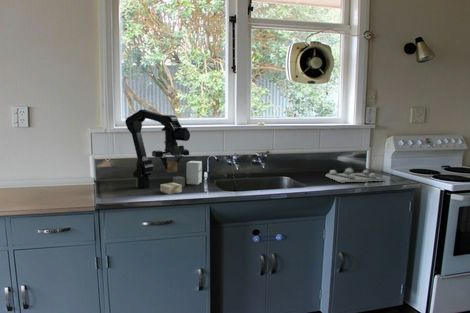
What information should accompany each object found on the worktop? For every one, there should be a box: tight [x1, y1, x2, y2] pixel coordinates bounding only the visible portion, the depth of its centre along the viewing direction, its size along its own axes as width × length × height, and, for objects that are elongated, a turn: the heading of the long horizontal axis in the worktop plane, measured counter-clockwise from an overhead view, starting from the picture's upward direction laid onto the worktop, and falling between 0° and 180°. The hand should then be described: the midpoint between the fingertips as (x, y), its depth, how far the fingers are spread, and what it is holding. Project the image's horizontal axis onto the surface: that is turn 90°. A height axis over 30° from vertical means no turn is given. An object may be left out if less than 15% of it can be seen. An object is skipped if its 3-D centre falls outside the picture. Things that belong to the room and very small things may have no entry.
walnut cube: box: [164, 160, 178, 173], centre depth 210 cm, size 5×5×5 cm
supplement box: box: [186, 160, 203, 186], centre depth 233 cm, size 7×7×13 cm
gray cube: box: [172, 175, 186, 188], centre depth 226 cm, size 5×5×5 cm
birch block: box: [159, 182, 183, 195], centre depth 212 cm, size 8×8×4 cm
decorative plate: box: [325, 167, 386, 184], centre depth 251 cm, size 30×22×7 cm
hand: (170, 169), depth 211 cm, fingers closed on walnut cube, 5 cm apart
